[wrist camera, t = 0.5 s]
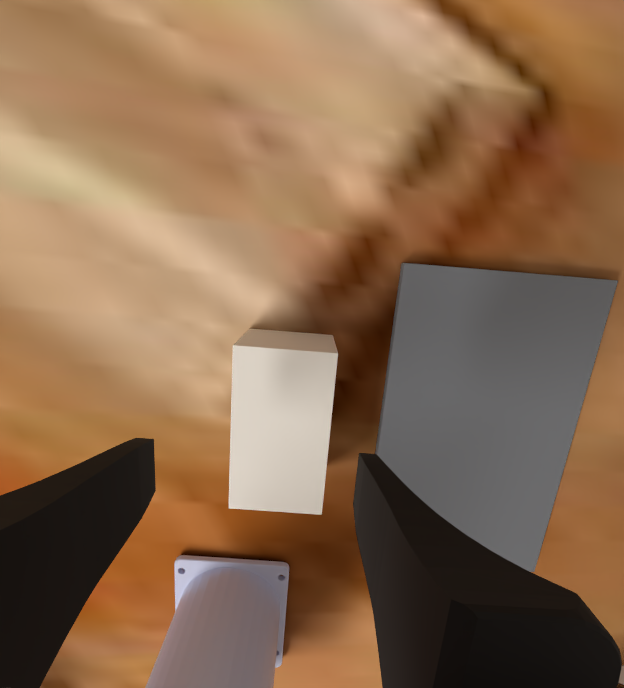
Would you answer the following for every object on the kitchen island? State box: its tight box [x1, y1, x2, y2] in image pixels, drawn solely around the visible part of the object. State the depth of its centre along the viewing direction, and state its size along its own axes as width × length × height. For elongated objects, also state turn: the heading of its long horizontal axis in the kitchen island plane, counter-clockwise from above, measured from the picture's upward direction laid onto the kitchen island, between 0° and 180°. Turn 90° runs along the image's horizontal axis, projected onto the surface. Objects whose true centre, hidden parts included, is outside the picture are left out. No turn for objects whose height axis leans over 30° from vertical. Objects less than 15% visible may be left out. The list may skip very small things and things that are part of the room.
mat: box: [375, 263, 618, 572], centre depth 21 cm, size 20×12×1 cm, turn 175°
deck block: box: [229, 329, 338, 515], centre depth 19 cm, size 9×5×4 cm, turn 175°
